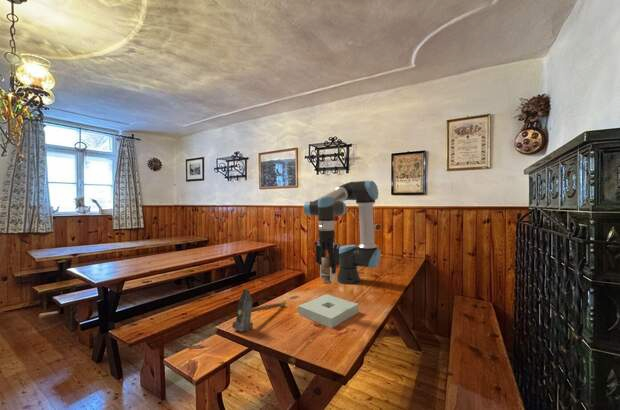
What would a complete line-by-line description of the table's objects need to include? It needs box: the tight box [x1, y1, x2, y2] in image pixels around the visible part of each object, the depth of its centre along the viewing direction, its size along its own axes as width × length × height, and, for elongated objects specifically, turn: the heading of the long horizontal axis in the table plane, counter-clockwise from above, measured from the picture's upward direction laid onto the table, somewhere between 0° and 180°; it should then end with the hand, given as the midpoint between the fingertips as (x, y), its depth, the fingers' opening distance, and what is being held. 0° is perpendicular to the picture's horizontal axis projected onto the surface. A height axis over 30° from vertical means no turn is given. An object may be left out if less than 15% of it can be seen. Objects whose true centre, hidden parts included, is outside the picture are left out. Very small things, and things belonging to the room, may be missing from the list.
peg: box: [321, 255, 333, 285], centre depth 121 cm, size 5×5×12 cm
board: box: [297, 293, 359, 329], centre depth 121 cm, size 20×20×4 cm
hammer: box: [232, 288, 287, 332], centre depth 119 cm, size 6×16×30 cm
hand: (327, 279), depth 121 cm, fingers closed on peg, 5 cm apart
